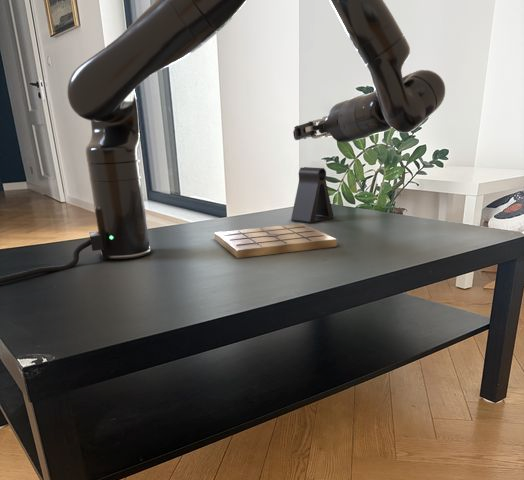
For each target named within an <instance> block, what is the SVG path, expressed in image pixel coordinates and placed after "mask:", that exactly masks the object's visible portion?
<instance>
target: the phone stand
mask: <svg viewBox="0 0 524 480" xmlns="http://www.w3.org/2000/svg"><path fill="white" fill-rule="evenodd" d="M327 184H328V183H327V170H326V168H324V167H311V166H304V167H300V168H299V170H298V184H297V189H296V193H295V198H294V203H293V208H292V211H291V217H290V220H291V222H297V223H298V222H299V223H304V224H305V223H306V224H314V223H317V222H321V221H326V220H330V219H333V218H334V212H333V206H332V203H331V202H332V201H331V199H330V194H329V189H328V185H327Z"/></svg>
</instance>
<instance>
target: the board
mask: <svg viewBox="0 0 524 480" xmlns="http://www.w3.org/2000/svg"><path fill="white" fill-rule="evenodd" d="M214 240H215V241H216V242H217V243H218V244H220V245H221V246H222V247H223V248H224V249H226V250H227V251H228V252H229V253H230V254H232V255H233V256H234V257H235V258H236V259H243V258H250V257H251V258H252V257H260V256H267V255H268V256H269V255H277V254H286V253H293V252H303V251H310V250H319V249H328V248H329V249H330V248H335V247H337V243H338V242H337V238H335V237H333V236H331V235H330V234H329V235H328V234H326V233H324V232H322V231H320V230H317V229H315V228H313V227H311V226H309V225H308V224H305V223H294V224H284V225H274V226H265V227H254V228H245V229H235V230H227V231H217V232H214Z"/></svg>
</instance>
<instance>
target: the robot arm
mask: <svg viewBox="0 0 524 480" xmlns="http://www.w3.org/2000/svg"><path fill="white" fill-rule="evenodd" d="M247 1H248V0H155V1H154V2H153V3H152V4H151V5H149V6H148V8H146V9H145V10H144V11H143V12H142V13H141V14H140V15H139V16H138V17H137V18H136V19H135V20H134V21H133V22H132V23H131V25H129V26H128V27H127V29H126V30H124V31H123V32H122V34H120V35H119V36H118V37H117V38H116V39H114V40H113V41H112V42H110V43H109V44H108V45H106V46H105V47H104V48H102V49H101V50H99V51H98V52H97V53H95V54H94V55H92V56H91V57H90V58H88V59H87V60H86V61H84V62H82V63H81V64H80V65H78V67H76V69H75V70H74V71H73V72H72V73H71V75H70V78H69V80H68V83H67V89H66V91H67V92H66V93H67V100H68V103H69V105H70V107H71V109H72V111H73V112H74V113H75V114H76V115H78V116H79V117H81V118H82V119H85V120H86V121H89V122H90V124H91V136H90V140H89V142H88V144H87V146H86V148H85V157H86V163H87V169H88V175H89V182H90V188H91V194H92V199H93V209H94V215H95V216H94V217H95V221H96V227H97V231H91V232H89V239H88V240H85V241H84V242H83V243H81V244H79V245H78V246H77V247H76V248H75V249H74V251H73V254H72V256H73V257H72V260H71V261H69V262H68V263H65V264H63V265H55V266H54V265H52V266H41V267H36V268H32V269H28V270H24V271H20V272H16V273H12V274H8V275H3V276H0V284H4V283H8V282H12V281H16V280H20V279H23V278H27V277H30V276H36V275H39V274H45V273H54V272H59V271H63V270H64V271H65V270H67V269H72V268H73V267H75V266H76V265H77V264H78V262H79V260H80V253H81V252H82V251H83V250H84V249H86V248H88V247H89V246H91V251H92V252H95V251H96V252H97V251H100V254H101V257H102V260H104V261H105V260H131V259H136V258H142V257H145V256H147V255H149V254H150V253H151V252H152V251H151V247H150V239H149V231H148V222H147V214H146V207H145V206H146V205H145V199H144V189H143V183H142V174H141V166H140V160H139V147H140V140H141V136H140V135H141V134H140V123H139V111H138V109H139V108H138V102H137V95H136V91H135V90H136V88H137V87H139V86H140V85H141V84H142V83H143V82H144V81H146V80H147V79H148V78H149V77H151V76H152V75H154V74H156V73H157V72H159V71H161V70H163V69H165V68H168V67H169V66H171V65H173V64H175V63H177V62H178V61H181V60H183V59H185V58H186V57H187V56H189V55H191V54H192V53H194V52H196V51H197V50H199V48H201V47H202V46H204V45H205V44H206V43H207V42H208V41H210V39H212V38H213V37H214V36H215V35H216V34H218V33H219V32H220V31H221V30H223V29H224V27H226V25H227V24H228V23H229V22H230V21H231V20H232V19H233V18H234V17H235V16H236V14H237V13H238V12H239V11H240V10H241V9H242V8H243V6H244V5H245V4H246V2H247ZM329 2H330V4H331V6H332V8H333V10H334V11H335V13H336V15H337V17H338V19H339V21H340V23H341V25H342V27H343V28H344V31H345V32H346V35H347V37H348V38H349V40H350V42H351V43H352V45H353V47H354V49H355V51H356V52H357V53H358V56H359V57H360V59H361V61H362V62H363V64H364V65H365V67H366V68H367V70H368V72H369V74H370V78H371V81H372V85H373V88H374V91H372V92H369V93H367V94H362V95H361V94H360V95H357V96H354V97H352V98H349V99H345V100H343V101H340V102H338V103H335V105H333V106H332V107H331V109H330V110H329V113H328V115H325V116H322V118H319V119H315V120H310V121H308V122H306V123H303V124H299V125H295V126H294V128H293V131H292V134H293V139H294V140H295V141H299V140H306V139H308V138H312V139H320V138H330V137H332V139H334V140H335V141H336V142H338V143H341V144H346V143H350V142H355V141H358V140H363V139H366V138H369V137H371V136H373V135H377V134H380V133H384V132H388V131H390V130H391V129H393V130H394V131H396V132H398V133H402V134H406V133H407V134H408V133H410V132H412V131H414V130H416V129H417V128H418V127H419V126H420V125H421V124H422V123H424V122H425V121H426V120H427V119H428V118H429V117H430V116H431V115H432V114H433V113H435V112H436V111H437V110H438V109H439V107H440V106H441V105H442V104H443V102H444V99H445V96H446V85H445V82H444V80H443V78H442V76H440V75H439V74H438V73H436V72H435V71H433V70H429V69H419V70H415V71H412V72H410V73H409V74H407V75H404V76H403V72H402V69H403V66H404V64H405V63H406V61H407V60H408V58H409V57H410V55H411V47H410V43H409V42H408V41H407V39H406V37H405V35H404V33H403V31H402V29H401V28H400V26H399V25H398V23H397V20H396V18H395V17H394V16H393V13H392V12H391V11H390V9H389V7H388V6H387V4H386V2H385V1H384V0H329ZM317 131H318V132H317ZM318 133H320V134H318Z"/></svg>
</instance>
